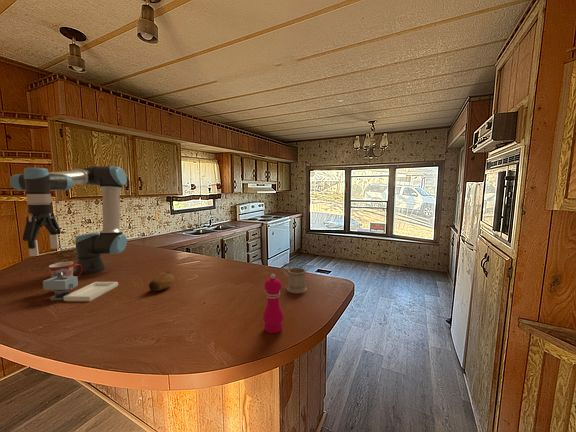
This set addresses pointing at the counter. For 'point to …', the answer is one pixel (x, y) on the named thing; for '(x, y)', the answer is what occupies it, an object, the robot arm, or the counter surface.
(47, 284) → the windowed blue block
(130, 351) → the counter surface
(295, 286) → the mug
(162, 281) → the potato
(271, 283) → the pepper mill
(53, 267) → the mug
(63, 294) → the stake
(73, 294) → the tray
